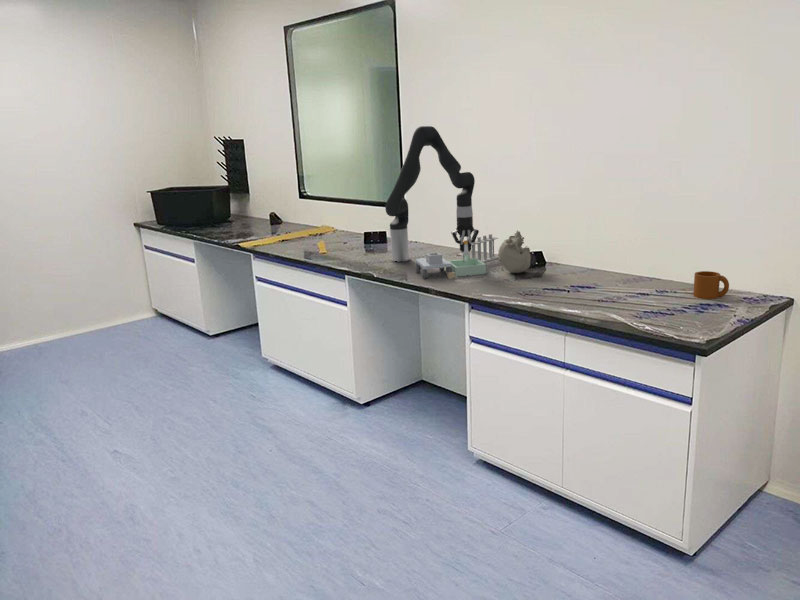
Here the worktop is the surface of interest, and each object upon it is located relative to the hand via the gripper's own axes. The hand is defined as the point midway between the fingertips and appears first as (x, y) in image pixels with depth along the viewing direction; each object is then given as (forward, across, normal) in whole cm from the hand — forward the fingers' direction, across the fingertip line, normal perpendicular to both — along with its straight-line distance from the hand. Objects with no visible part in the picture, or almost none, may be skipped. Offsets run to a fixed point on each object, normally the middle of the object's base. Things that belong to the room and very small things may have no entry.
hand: (465, 251), depth 299 cm
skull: (+10, -20, +12) cm, 25 cm away
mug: (+10, -73, +79) cm, 108 cm away
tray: (+10, 0, 0) cm, 10 cm away
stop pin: (+5, 0, 0) cm, 5 cm away
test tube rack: (+11, -12, -16) cm, 23 cm away
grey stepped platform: (+10, +16, -1) cm, 19 cm away
